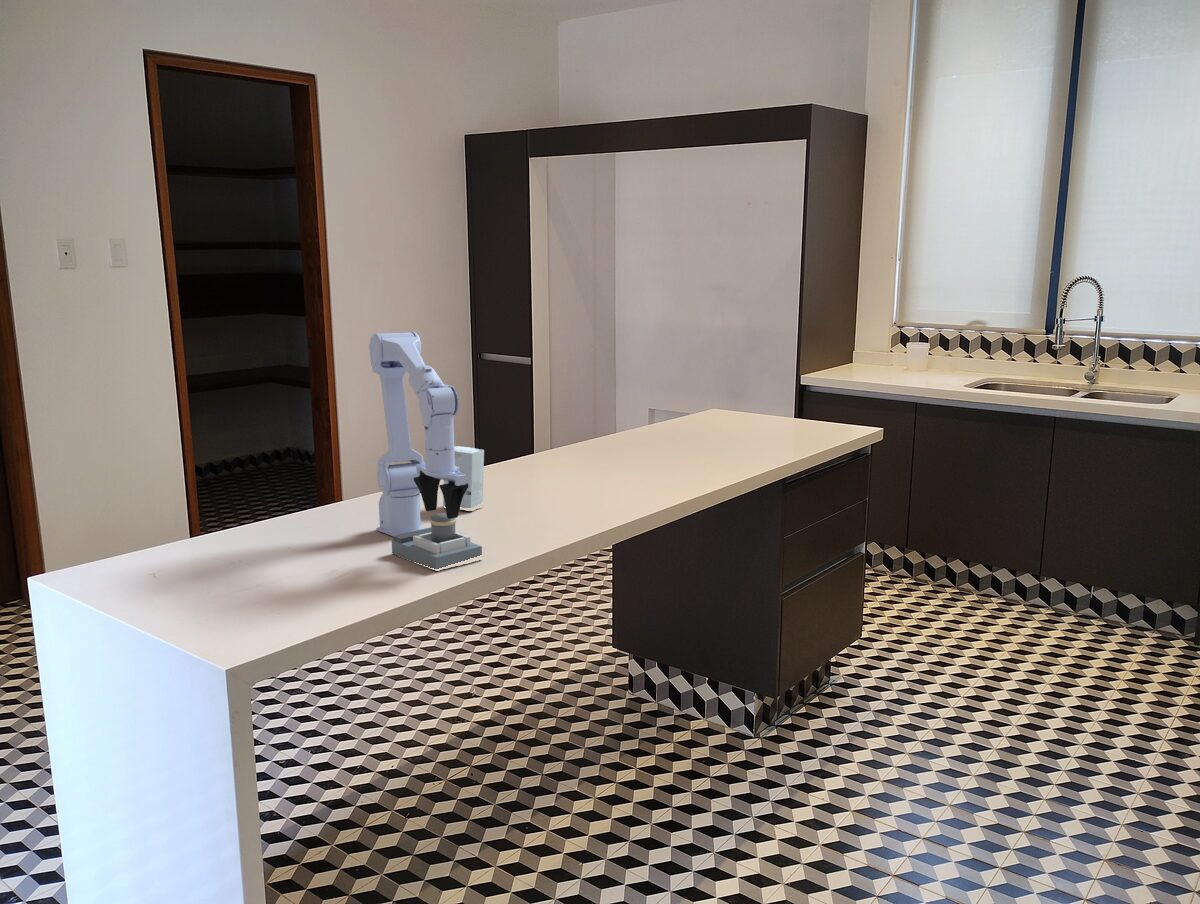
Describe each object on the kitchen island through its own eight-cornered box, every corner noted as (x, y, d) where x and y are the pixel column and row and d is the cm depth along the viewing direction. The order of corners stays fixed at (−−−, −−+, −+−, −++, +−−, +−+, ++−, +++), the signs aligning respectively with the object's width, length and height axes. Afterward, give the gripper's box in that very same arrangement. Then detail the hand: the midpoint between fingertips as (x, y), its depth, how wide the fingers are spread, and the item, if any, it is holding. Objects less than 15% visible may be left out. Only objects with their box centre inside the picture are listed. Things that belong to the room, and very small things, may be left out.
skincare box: (442, 509, 234) (441, 449, 231) (456, 503, 240) (454, 444, 237) (472, 513, 231) (471, 452, 228) (485, 507, 236) (484, 447, 233)
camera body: (392, 554, 199) (391, 531, 198) (436, 543, 207) (436, 521, 206) (436, 572, 188) (435, 548, 187) (482, 560, 195) (481, 537, 194)
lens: (426, 545, 195) (425, 516, 194) (445, 539, 199) (444, 511, 198) (442, 549, 192) (441, 520, 191) (461, 544, 196) (460, 515, 195)
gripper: (478, 450, 189) (479, 517, 192) (436, 440, 200) (437, 503, 202) (448, 455, 184) (449, 524, 187) (406, 444, 195) (408, 509, 197)
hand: (441, 514), depth 194 cm, fingers open, 7 cm apart
